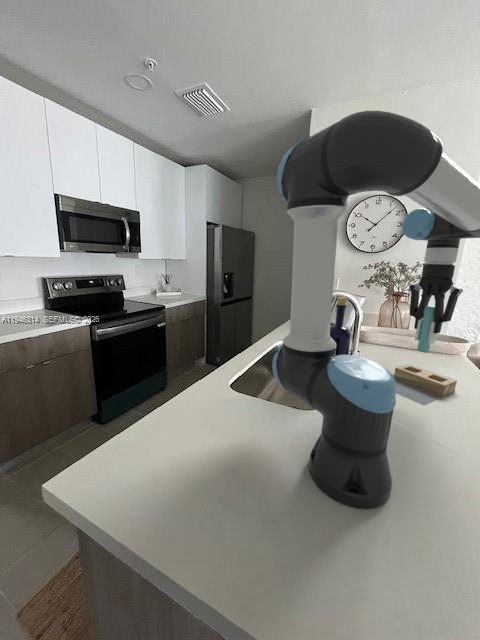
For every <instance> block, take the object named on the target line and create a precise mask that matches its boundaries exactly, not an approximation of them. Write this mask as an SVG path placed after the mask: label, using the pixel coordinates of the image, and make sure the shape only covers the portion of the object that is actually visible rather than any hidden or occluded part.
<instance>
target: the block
mask: <svg viewBox="0 0 480 640" xmlns="http://www.w3.org/2000/svg"><path fill="white" fill-rule="evenodd" d="M393 374H394V378H395V379H398V380H400V381H403V382H406V383H408V384H411V385H413V386H416V387H418V388H421V389H423V390H426V391H428V392H431V393H434V394H436V395H439V396H441V397H442V398H444V397H447V396H449V395H451V394H453V393H455V392H456V386H457V381H458V380H456V379H454V378H451V377H448V376H445V375H442V374H438V373H437V372H436V373H435V372H433V371H429V370H428V369H427V370H426V369H423V368H421V367H417V366H414V365H413V364H412V365H411V364H409V363H407V364H403V365H401V366H396V367H395V368H394V373H393ZM450 393H451V394H450ZM448 394H449V395H448Z"/></svg>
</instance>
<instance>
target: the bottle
mask: <svg viewBox="0 0 480 640" xmlns="http://www.w3.org/2000/svg"><path fill="white" fill-rule="evenodd" d="M336 302H337V303H336V305H335V307H336V312H335V313H336V314H335V324H334V325H330V337H331V338H332V339H333V340H334V341H335V342H336V354H335V356H337V355H350V349H351V342H352V332H351V331H350V329H349V328H348V327H346V326H344V322H345V321H344V320H345V313H346V309H347V297H342V296H338V297H337V301H336Z"/></svg>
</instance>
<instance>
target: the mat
mask: <svg viewBox="0 0 480 640" xmlns="http://www.w3.org/2000/svg"><path fill="white" fill-rule="evenodd" d="M392 375H393V377H394V373H392ZM394 380H395V382H396V395H399V396H402V397H404V398H407V399H408V400H411V401H412V402H415V403H417V404H420V405H423V406H426V405H427V406H428V405H429V404H431V403H433V402H435V401H437V400H440V399H441V398H443V397H441V396H439V395H436V394H434V393H431V392H428V391H426V390H423V389H421V388H418V387H416V386H413V385H411V384H408V383H406V382H403V381H400V380H398V379H395V378H394ZM451 394H452V393H450V394H448V395H447V396H449V395H451Z"/></svg>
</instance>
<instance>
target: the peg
mask: <svg viewBox="0 0 480 640" xmlns="http://www.w3.org/2000/svg"><path fill="white" fill-rule="evenodd" d="M422 319H423V321H422V326H421V332H420V338H419V340H418V343H417V351H418V352H420V353H425V354H426V353H430V346H431V344H429V343H428V338H429V333H430V327H431V322H434V321H435V305H428V306H425V310H424V315H423V318H422Z"/></svg>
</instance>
